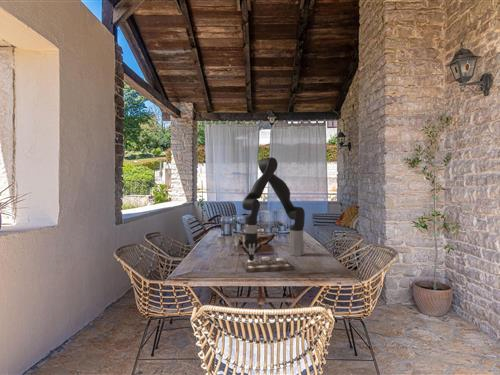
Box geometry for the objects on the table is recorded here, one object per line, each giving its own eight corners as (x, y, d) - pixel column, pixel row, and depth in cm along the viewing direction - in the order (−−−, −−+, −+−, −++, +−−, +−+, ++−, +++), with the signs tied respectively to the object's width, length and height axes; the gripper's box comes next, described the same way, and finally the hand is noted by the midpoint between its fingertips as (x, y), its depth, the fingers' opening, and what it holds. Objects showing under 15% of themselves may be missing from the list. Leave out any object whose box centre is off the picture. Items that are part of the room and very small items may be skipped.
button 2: (283, 260, 234) (283, 257, 233) (285, 262, 229) (285, 259, 228) (275, 261, 233) (275, 258, 232) (277, 263, 228) (277, 260, 228)
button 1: (254, 262, 230) (254, 259, 230) (256, 264, 225) (256, 261, 225) (246, 262, 229) (246, 259, 229) (248, 264, 224) (248, 261, 224)
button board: (285, 263, 238) (285, 256, 237) (293, 269, 222) (293, 262, 222) (241, 265, 232) (241, 259, 232) (246, 272, 217) (246, 265, 216)
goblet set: (216, 255, 260) (216, 236, 259) (217, 253, 265) (217, 235, 265) (257, 255, 261) (257, 236, 260) (256, 253, 266) (256, 234, 266)
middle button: (269, 259, 232) (269, 256, 232) (271, 261, 227) (271, 258, 227) (261, 260, 231) (261, 256, 231) (263, 261, 226) (262, 258, 226)
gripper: (260, 230, 231) (260, 258, 232) (239, 231, 229) (239, 259, 229) (263, 232, 224) (263, 261, 225) (241, 233, 221) (241, 262, 222)
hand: (251, 260), depth 227 cm, fingers closed
